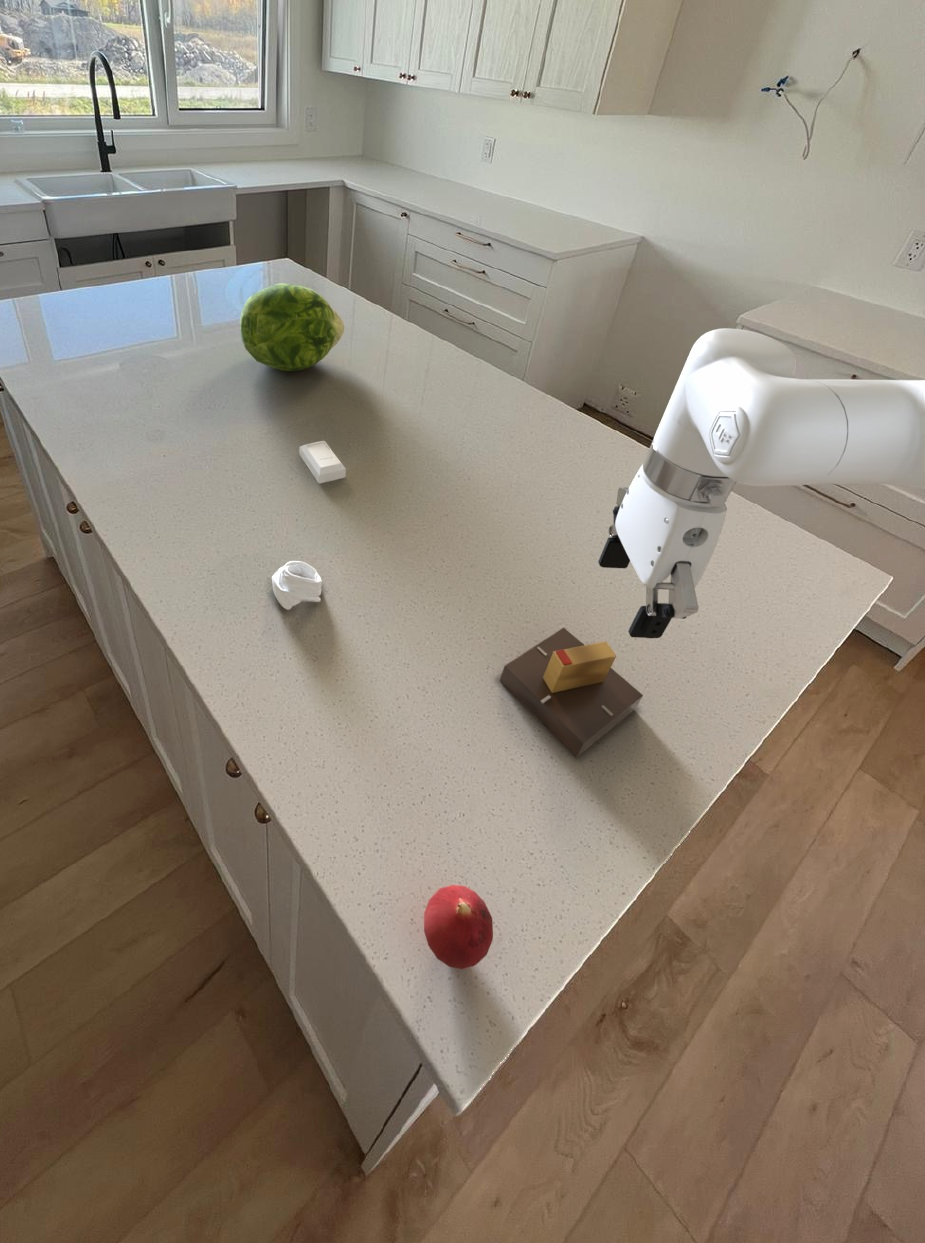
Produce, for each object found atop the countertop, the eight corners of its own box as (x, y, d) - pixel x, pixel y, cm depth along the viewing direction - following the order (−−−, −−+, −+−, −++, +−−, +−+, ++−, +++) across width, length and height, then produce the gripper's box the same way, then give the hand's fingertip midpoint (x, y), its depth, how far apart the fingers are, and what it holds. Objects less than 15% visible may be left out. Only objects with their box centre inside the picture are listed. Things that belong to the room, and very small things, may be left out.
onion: (482, 908, 58) (500, 872, 53) (486, 985, 54) (505, 953, 49) (419, 899, 58) (431, 863, 54) (417, 975, 54) (430, 942, 49)
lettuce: (356, 375, 140) (366, 292, 132) (260, 383, 128) (264, 292, 120) (314, 352, 154) (320, 275, 146) (223, 357, 142) (224, 274, 134)
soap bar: (318, 483, 107) (319, 471, 106) (299, 455, 114) (299, 442, 112) (345, 477, 109) (346, 465, 108) (324, 449, 115) (325, 437, 114)
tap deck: (635, 709, 76) (644, 694, 74) (575, 758, 71) (583, 742, 69) (558, 641, 84) (564, 626, 82) (498, 680, 78) (504, 665, 76)
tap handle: (593, 666, 77) (606, 639, 74) (603, 682, 75) (617, 654, 72) (542, 677, 75) (553, 650, 72) (551, 693, 74) (563, 665, 70)
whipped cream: (264, 585, 89) (259, 560, 86) (305, 566, 92) (302, 541, 89) (290, 621, 84) (285, 595, 81) (333, 599, 86) (330, 574, 84)
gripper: (782, 536, 50) (696, 668, 60) (689, 419, 63) (632, 544, 74) (689, 531, 49) (619, 665, 60) (616, 415, 63) (570, 541, 74)
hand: (627, 598), depth 67 cm, fingers open, 9 cm apart
